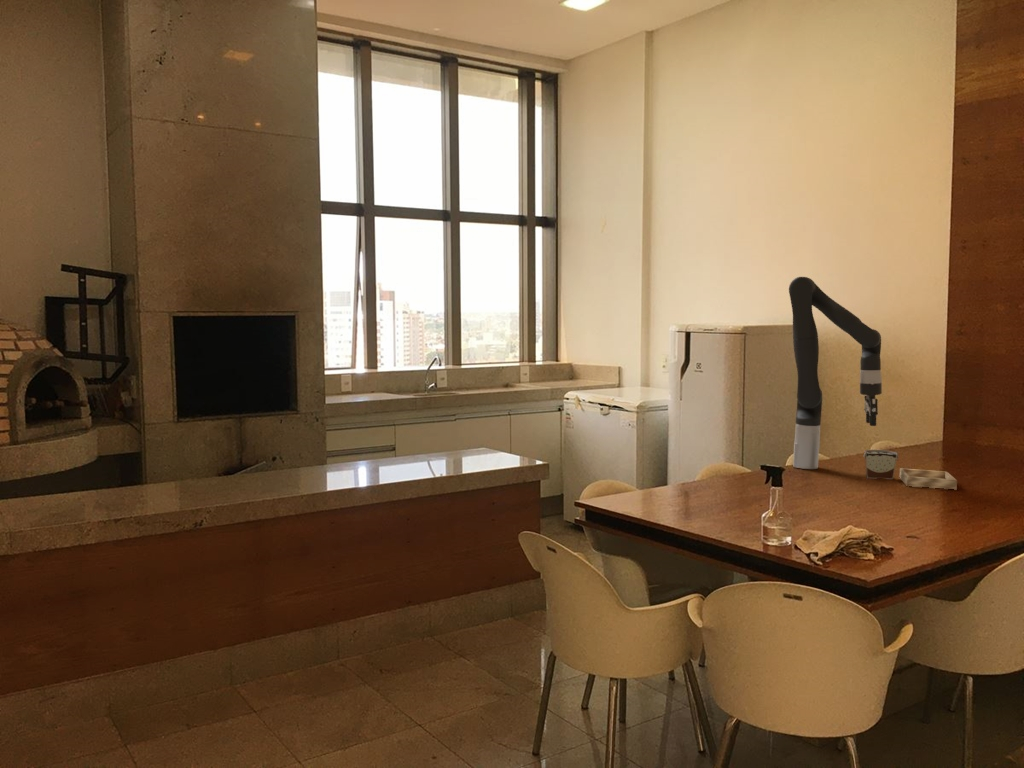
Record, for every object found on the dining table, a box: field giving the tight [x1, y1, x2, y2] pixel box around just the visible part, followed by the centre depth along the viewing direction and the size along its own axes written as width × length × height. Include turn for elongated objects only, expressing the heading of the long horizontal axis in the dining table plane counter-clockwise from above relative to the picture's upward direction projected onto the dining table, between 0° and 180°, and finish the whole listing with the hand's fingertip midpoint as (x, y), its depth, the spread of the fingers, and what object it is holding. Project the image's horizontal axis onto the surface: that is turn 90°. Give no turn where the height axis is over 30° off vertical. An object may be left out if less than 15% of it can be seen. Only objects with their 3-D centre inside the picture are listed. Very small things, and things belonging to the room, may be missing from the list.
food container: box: [863, 449, 899, 480], centre depth 305 cm, size 12×6×10 cm, turn 84°
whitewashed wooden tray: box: [899, 467, 958, 491], centre depth 295 cm, size 16×16×4 cm
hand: (871, 424), depth 308 cm, fingers open, 8 cm apart
